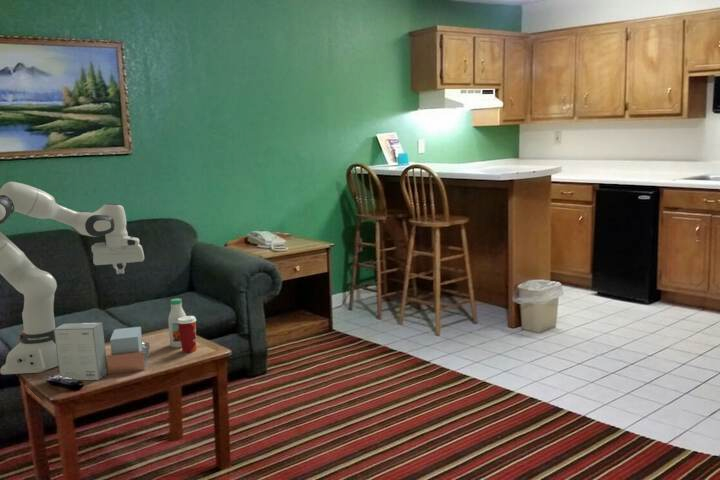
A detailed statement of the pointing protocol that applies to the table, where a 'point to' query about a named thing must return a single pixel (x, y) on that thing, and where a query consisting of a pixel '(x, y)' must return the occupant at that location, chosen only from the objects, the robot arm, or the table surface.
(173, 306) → the milk bottle
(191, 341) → the paper cup
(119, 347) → the light blue box
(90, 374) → the hard drive box
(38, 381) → the table surface
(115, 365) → the roller conveyor
